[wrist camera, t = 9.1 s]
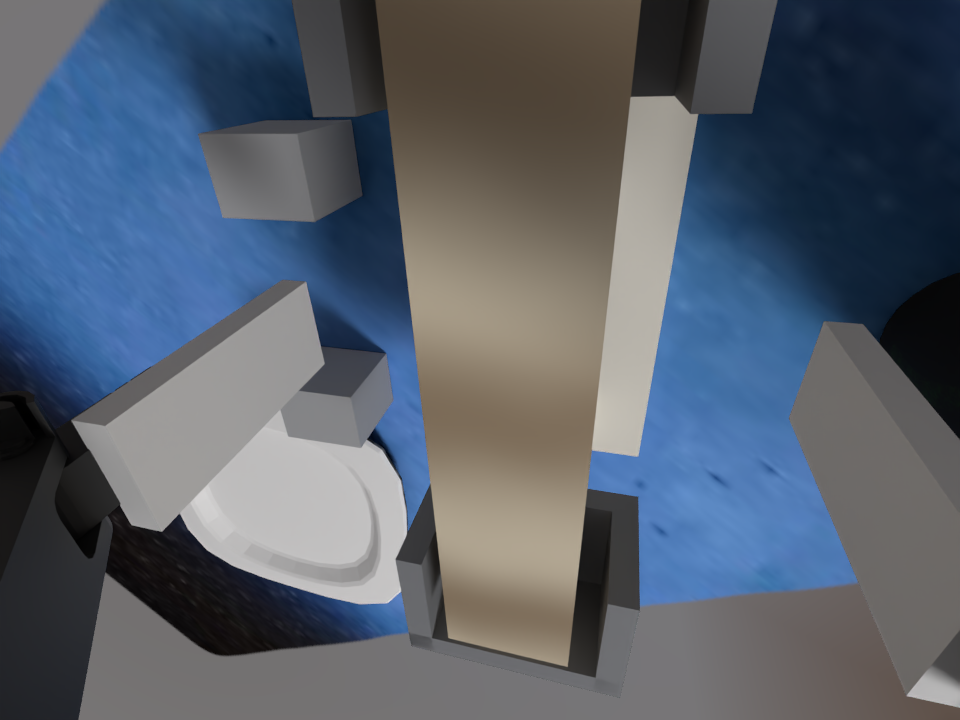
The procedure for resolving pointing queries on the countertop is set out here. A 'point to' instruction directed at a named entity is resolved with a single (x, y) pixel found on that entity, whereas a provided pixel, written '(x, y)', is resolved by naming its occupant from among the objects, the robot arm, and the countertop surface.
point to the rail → (509, 284)
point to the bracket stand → (632, 295)
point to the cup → (930, 346)
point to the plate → (307, 515)
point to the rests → (306, 197)
